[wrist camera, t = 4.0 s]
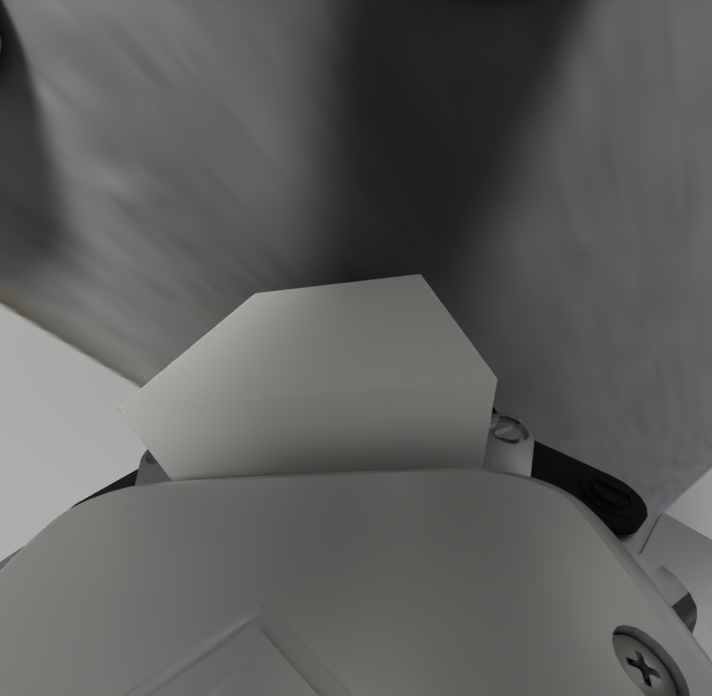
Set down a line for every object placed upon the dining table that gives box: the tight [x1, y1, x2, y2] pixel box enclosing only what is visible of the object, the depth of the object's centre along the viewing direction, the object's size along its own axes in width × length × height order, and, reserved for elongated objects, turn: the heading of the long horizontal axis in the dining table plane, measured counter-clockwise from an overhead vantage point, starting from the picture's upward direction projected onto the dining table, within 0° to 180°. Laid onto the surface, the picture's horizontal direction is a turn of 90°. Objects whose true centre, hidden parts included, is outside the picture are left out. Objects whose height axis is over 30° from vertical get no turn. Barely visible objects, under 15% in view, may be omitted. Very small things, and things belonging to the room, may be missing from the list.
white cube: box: [117, 274, 497, 481], centre depth 10 cm, size 8×8×8 cm
